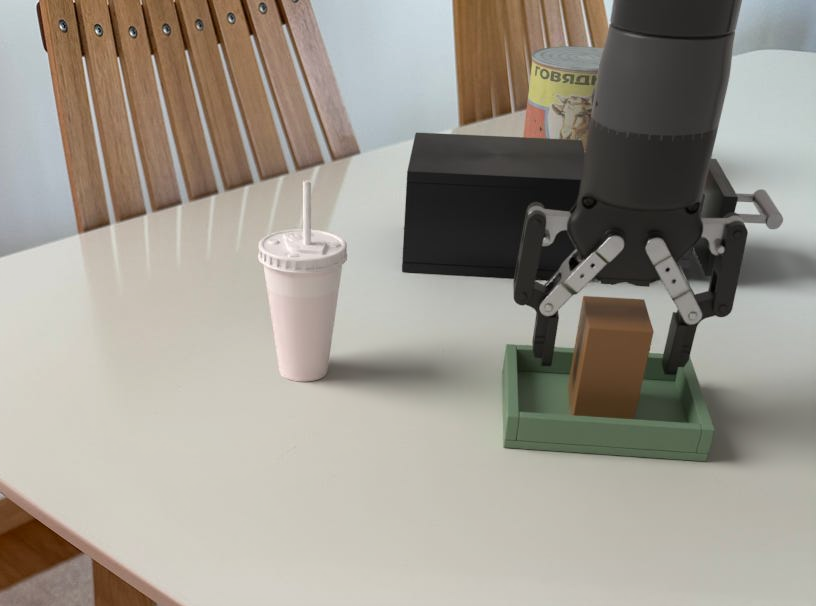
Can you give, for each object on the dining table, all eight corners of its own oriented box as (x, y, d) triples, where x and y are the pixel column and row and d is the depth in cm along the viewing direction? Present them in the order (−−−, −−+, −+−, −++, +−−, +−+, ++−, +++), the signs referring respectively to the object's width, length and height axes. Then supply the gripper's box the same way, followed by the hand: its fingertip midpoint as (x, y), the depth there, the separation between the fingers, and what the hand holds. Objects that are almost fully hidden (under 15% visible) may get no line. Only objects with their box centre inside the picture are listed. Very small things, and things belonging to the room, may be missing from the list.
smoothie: (292, 397, 77) (289, 200, 68) (245, 365, 81) (237, 175, 72) (361, 375, 80) (368, 183, 71) (313, 345, 83) (313, 160, 74)
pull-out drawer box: (750, 235, 102) (769, 161, 98) (774, 280, 93) (797, 200, 89) (549, 225, 104) (559, 151, 99) (554, 267, 95) (566, 188, 90)
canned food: (516, 185, 117) (530, 65, 109) (520, 157, 125) (534, 43, 117) (618, 192, 115) (640, 71, 107) (616, 163, 124) (636, 49, 116)
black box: (567, 234, 105) (582, 139, 99) (575, 281, 95) (591, 180, 89) (410, 225, 106) (415, 132, 100) (401, 272, 96) (407, 171, 90)
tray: (682, 384, 79) (689, 354, 78) (706, 461, 70) (715, 430, 69) (502, 373, 80) (506, 343, 79) (503, 447, 71) (507, 416, 70)
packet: (625, 391, 77) (644, 299, 72) (632, 427, 73) (653, 331, 68) (567, 388, 77) (583, 295, 73) (571, 423, 73) (588, 327, 68)
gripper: (537, 124, 60) (504, 383, 71) (791, 135, 59) (719, 397, 69) (533, 93, 66) (504, 337, 76) (765, 103, 65) (702, 349, 75)
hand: (606, 366), depth 73 cm, fingers open, 8 cm apart
